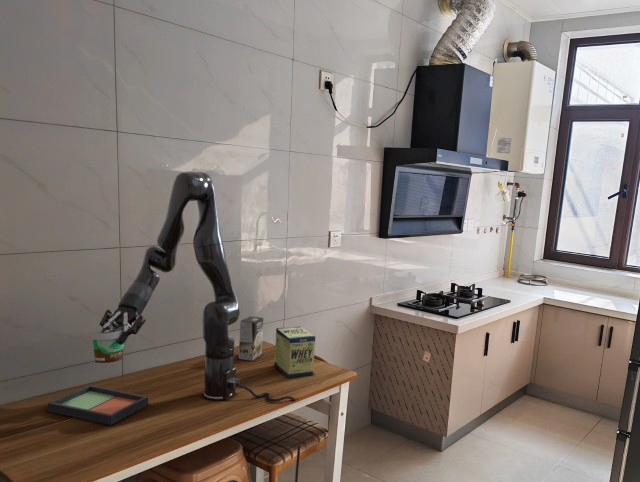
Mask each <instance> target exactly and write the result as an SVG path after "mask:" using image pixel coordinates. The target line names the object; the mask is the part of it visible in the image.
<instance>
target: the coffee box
mask: <svg viewBox="0 0 640 482" xmlns="http://www.w3.org/2000/svg"><path fill="white" fill-rule="evenodd" d="M239 322H240V323H239V341H238V342H239V346H238V359H239V360H246V361H251V362H252V361H255V360H256V359H257V358H259V357H260V356H261V355H262V353H263V351H262V349H263V332H264V317H259V316H251V315H250V316H247V317H245V318H243V319H241V320H240V321H239Z"/></svg>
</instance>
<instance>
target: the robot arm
mask: <svg viewBox="0 0 640 482" xmlns="http://www.w3.org/2000/svg"><path fill="white" fill-rule="evenodd" d="M195 201H196V204H197V211H198V222H197V226H196V228H195V230H194V235H193V239H192V246H193V250H194V256H195V259H196V263H197V265H198V267H199V269H200V270H201V271H202V273H203V275H204V276H205V278H207V280H208V281H209V283H210V285H211V287H212V291H213V297H214V300H212V301H210V302H208V303H207V304H206V305H205V306H204V308H203V311H202V338H203V340H204V343H205V345H204V346H205V347H204V379H203V381H204V382H203V384H204V385H203V386H204V387H203V388H204V389H203V397H204V398H205V399H206V400H207V399H208V400H211V401H227V400H229V399H230V398H232V397H233V396H235V395H236V389H237V388H238V387H239V388H241V389H244V390H246V391H248V392H249V393H250V394H251V395H252V396H253V397H255V398H257V399H258V398H262V397H265V396H267V400H268V401H270V402H273V403H274V402H280V401H284V400H288V399H289V400H292V401H293V402H297V399H296V398H295V397H293V396H291V395H285V396H281V397H277V398H272V397H271V394H270V393H269V392H263V393H260V394H257V393H255V392H254V391H253V390H252V389H251V388H249V387H247V386H245V385H244V384H241V378H239V377H237V368H236V367H234V365H235V338H234V336H231V335H229V326H231V325H233V324H235V323H236V322H237V321H239V318H240V315H241V311H240V305H239V301H238V298H237V295H236V292H235V290H234V287H233V283H232V278H231V275H230V270H229V265H228V262H227V256H226V250H225V246H224V242H223V238H222V233H221V227H220V223H219V217H218V211H217V202H216V193H215V186H214V182H213V180H212V177H211V176H210V175H209V174H208V173H207V172H204V171H184V172H183V171H182V172H180V173H178V174H177V175H176V176H175V178H174V180H173V184H172V188H171V191H170V196H169V200H168V206H167V211H166V215H165V219H164V221H163V224H162V226H161V229H160V230H159V233H158V236H157V238H156V244H157V246H156V245H151V246H149V247H148V248H146V249H145V251H144V254H143V257H142V263H141V265H140V269H139V271H138V274H136V276H135V278H134V279H133V282H132V283H131V284H130V285H129V286H128V288H127V289H126V291H125V293H124V294H123V296H122V297H121V298H120V301H119V302H118V307H117V308H116V309H115V310H114V311H113V310H110V309H106V310H105V312H104V314H103V316H102V318H101V320H100V322H99V326H100V327H101V328H102V329H101V331H100V332H102V331H104V330H106V329H112V328H116V327H118V326H119V325H124V332H122V333H121V335H120V337H119V338H118V340H117V343H118V344H119V345H122V344H123V343H124V344H125V343H126V341H127V340H128V338H129V336H131V335H137V334H138V332H139V331H140V329H141V328H142V327H143V325H145V323H146V321H147V319H146V318H145V317H144V316H143V315H142V313H143V312H144V310H145V309H146V307H147V306H148V303H150V302H149V301H150V300H151V299H152V296H153V293H154V292H155V290H156V288H157V287H158V285H159V283H160V281H161V276H160V275H159V274H158V273H157V272H156V271H154V270H153V269H152V268H154V269H156V270H158V271H160V272H162V273H164V274H165V273H171V272H172V271H173V270H174V269H175V267H176V264H177V256H178V249H179V245H180V243H181V241H182V238H183V236H184V234H185V231H186V223H185V219H184V210H185V209H186V207H187V205H188V203H189V202H195ZM300 455H301V445H298V447H297V453H296V464H295V477H294V482H298V481H299V469H300V468H299V467H300V457H301V456H300Z"/></svg>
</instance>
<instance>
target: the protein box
mask: <svg viewBox="0 0 640 482" xmlns="http://www.w3.org/2000/svg"><path fill="white" fill-rule="evenodd" d="M315 349H316V336H315V335H314V334H312V333H311V332H309V331H308V330H307V329H305V328H303V327H302V326H288V327H276V329H275V346H274V362H273V363H274V366H275V367H276V368H277V369H278V370H279V371H280V372H281V373H283V375H285V377H287V378H288V379H289V378H295V377H296V378H297V377H305V376H313V375H314V365H315V353H316V352H315V351H316V350H315Z"/></svg>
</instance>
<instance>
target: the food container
mask: <svg viewBox="0 0 640 482" xmlns="http://www.w3.org/2000/svg"><path fill="white" fill-rule="evenodd" d="M101 331H102V330H101ZM101 331H100V332H92V333H91V336H90V337H91V340H92V346H93V355H94V363H97V364H108V363H109V364H110V363H115V362H119V361H121V360H123V359H124V351H125V343H123V344H122V345H119V344H118V343H117V340H118V338H119V337H120V335H121V333H122V332H124V325H119V326H117V327H116V328H112V329H106V330H104V331H102V332H101Z"/></svg>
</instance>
